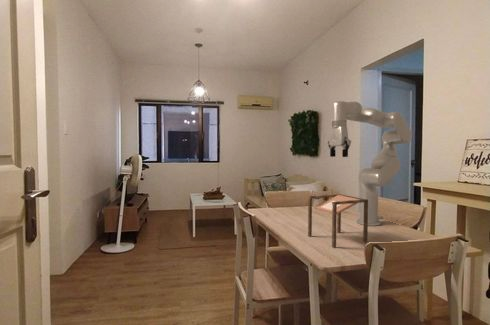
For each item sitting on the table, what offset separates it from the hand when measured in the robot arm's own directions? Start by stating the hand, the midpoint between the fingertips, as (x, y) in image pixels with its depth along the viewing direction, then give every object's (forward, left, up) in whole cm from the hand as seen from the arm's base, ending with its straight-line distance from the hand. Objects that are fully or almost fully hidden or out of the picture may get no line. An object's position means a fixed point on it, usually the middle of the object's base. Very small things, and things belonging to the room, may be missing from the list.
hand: (338, 156), depth 159 cm
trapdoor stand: (+16, +18, -38) cm, 45 cm away
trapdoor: (+15, +18, -22) cm, 32 cm away
